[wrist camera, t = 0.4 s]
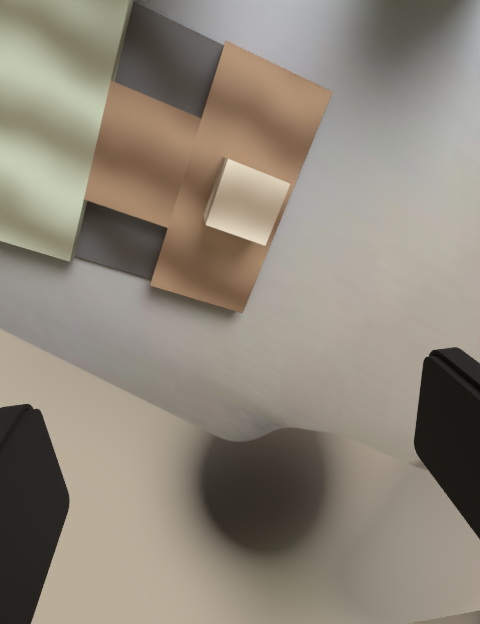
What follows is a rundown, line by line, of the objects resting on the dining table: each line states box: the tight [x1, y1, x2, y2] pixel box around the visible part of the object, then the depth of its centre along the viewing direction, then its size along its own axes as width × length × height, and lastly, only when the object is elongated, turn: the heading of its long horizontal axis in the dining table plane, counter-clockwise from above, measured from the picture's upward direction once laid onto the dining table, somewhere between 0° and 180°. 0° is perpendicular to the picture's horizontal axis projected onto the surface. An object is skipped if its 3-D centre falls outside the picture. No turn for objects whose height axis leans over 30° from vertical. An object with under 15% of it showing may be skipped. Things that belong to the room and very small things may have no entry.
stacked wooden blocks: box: [0, 0, 332, 313], centre depth 32 cm, size 20×25×3 cm
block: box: [203, 157, 290, 246], centre depth 32 cm, size 5×5×4 cm
